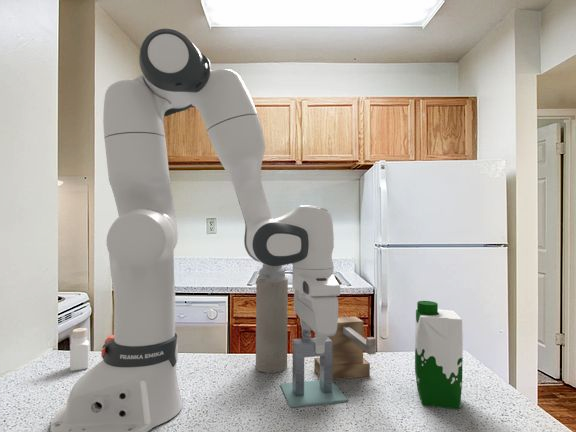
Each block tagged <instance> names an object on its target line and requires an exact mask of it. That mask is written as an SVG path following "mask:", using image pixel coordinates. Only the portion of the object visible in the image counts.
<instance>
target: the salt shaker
mask: <svg viewBox="0 0 576 432" xmlns="http://www.w3.org/2000/svg"><path fill="white" fill-rule="evenodd" d="M71 333H72V335H71V336H72V342H71V343H70V345H69V347H70V350H69V351H70V352H69V353H70V354H69V355H70V357H69V359H70V360H69V361H70V362H69V371H71V372H74V371H81V370H87V369H89V366H90V365H89V364H90V362H89V361H90V341H89V340H88V328H86V327H78V328H74V329H73V330H72V332H71Z"/></svg>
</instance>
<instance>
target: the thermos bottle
mask: <svg viewBox="0 0 576 432" xmlns="http://www.w3.org/2000/svg"><path fill="white" fill-rule="evenodd" d="M286 274H287V273H286V269H285V268H284V267H283V265H282V266H278V267H271V266H267V265H264V264H263V263H262V267H261V268H260V269H259V271H258V276H257V277H256V278H255V279H256V281H255V282H256V283H255V284H256V285H255V286H256V287H255V288H256V289H255V291H256V294H255V295H256V296H255V302H256V303H255V305H256V306H255V308H256V310H255V313H256V314H255V369H256V370H258V371H259V372H262V373H270V374H271V373H272V374H275V373H279V372H283V371H285V370H286V369H287V368H288V313H289V311H288V302H289V301H288V300H289V296H288V295H289V294H288V293H289V292H288V289H289V287H288V286H289V284H288V283H289V281H288V280H289V278H288V277H286Z"/></svg>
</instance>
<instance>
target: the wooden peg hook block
mask: <svg viewBox="0 0 576 432" xmlns="http://www.w3.org/2000/svg"><path fill="white" fill-rule="evenodd" d="M327 337H329V338H330V339H331V340H332V379H333V380H341V379H342V380H343V379H353V377H354V378H363V377H370V376H371V375H370V374H371V369H370V368H371V367H370V366H371V364H370V362H369V361H367V359H365V358H364V352H365V353H366V354H367V355H376V352H377V350H376V348H377V346H376V345H377V344H376V343H377V339H376V338H375V337H373V336H370V337H365V336H364V321H363V320H362V319H360V318H359V317H357V316H343V317H341V316H338V324H337V331H336V333H335V335H334V336H327ZM313 359H314V361H313V362H314V365H313V366H314V368H313V370H314V372H315V373H316V374H317V376H318V377H319V378H320V357H313Z"/></svg>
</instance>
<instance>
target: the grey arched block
mask: <svg viewBox="0 0 576 432" xmlns="http://www.w3.org/2000/svg"><path fill="white" fill-rule="evenodd" d="M315 341H316V337H311V338H303V337H302V338H292V371H291V372H292V375H291V376H292V378H291V379H292V382H291V383H292V390H293V392H294V394H295V396H304V381H305V358H316V357H319V358H320V377H319V380H320V388H321V390H322V391H323V393H324V394H325V393H332V381H333V380H332V340H331V339H330V338H329V337H327V340H326V342H325V351H324V353H323V354H317V353H316V352H315V351H314V343H315Z"/></svg>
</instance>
